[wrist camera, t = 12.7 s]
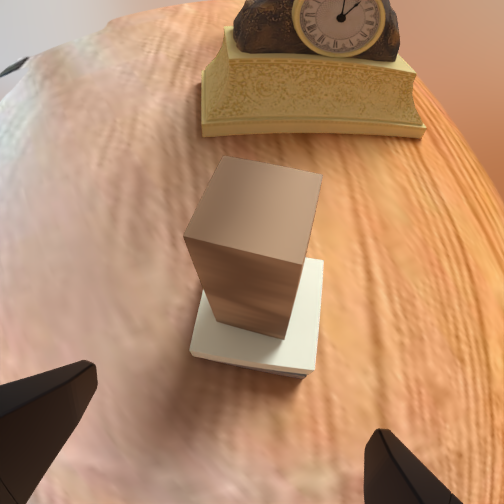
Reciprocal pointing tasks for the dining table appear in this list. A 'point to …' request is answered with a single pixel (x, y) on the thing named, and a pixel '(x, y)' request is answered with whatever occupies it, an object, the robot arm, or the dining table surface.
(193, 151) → the dining table surface
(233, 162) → the walnut pillar
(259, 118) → the decorative clock
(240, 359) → the tower top block
